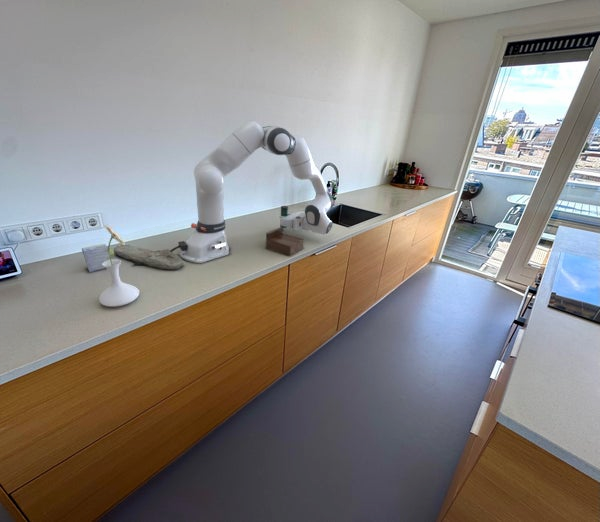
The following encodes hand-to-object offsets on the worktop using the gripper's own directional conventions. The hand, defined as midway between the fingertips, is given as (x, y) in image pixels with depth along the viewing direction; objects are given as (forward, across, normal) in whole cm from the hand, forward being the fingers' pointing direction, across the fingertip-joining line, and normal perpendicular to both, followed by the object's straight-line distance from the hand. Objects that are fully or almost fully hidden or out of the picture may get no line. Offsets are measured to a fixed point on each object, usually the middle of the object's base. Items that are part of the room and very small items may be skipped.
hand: (282, 215), depth 162 cm
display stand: (-16, +21, +9) cm, 28 cm away
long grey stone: (+21, +69, +9) cm, 73 cm away
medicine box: (+29, +84, +9) cm, 89 cm away
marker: (-1, 0, +6) cm, 7 cm away
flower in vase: (+2, +91, +9) cm, 91 cm away
